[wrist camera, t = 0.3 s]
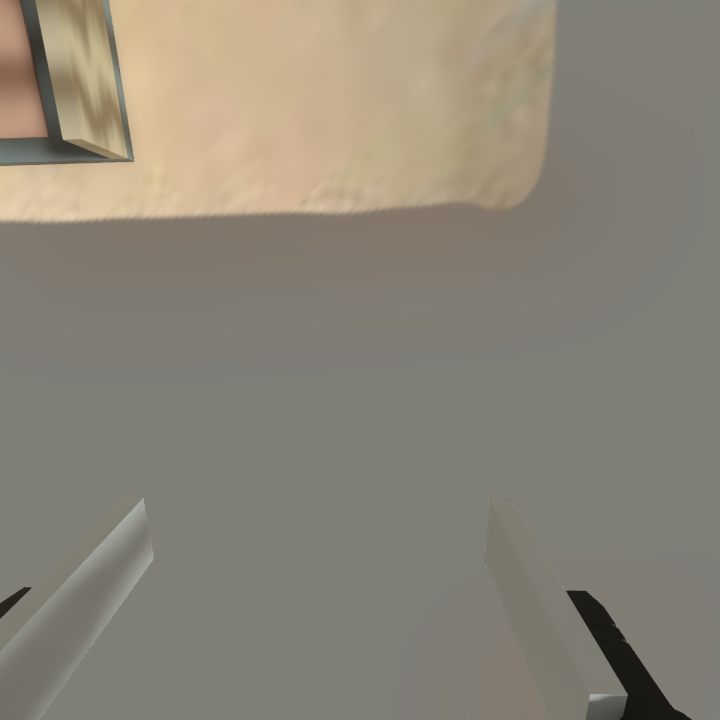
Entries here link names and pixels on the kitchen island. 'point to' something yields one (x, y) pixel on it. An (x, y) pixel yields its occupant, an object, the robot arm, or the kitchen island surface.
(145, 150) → the kitchen island surface
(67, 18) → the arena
